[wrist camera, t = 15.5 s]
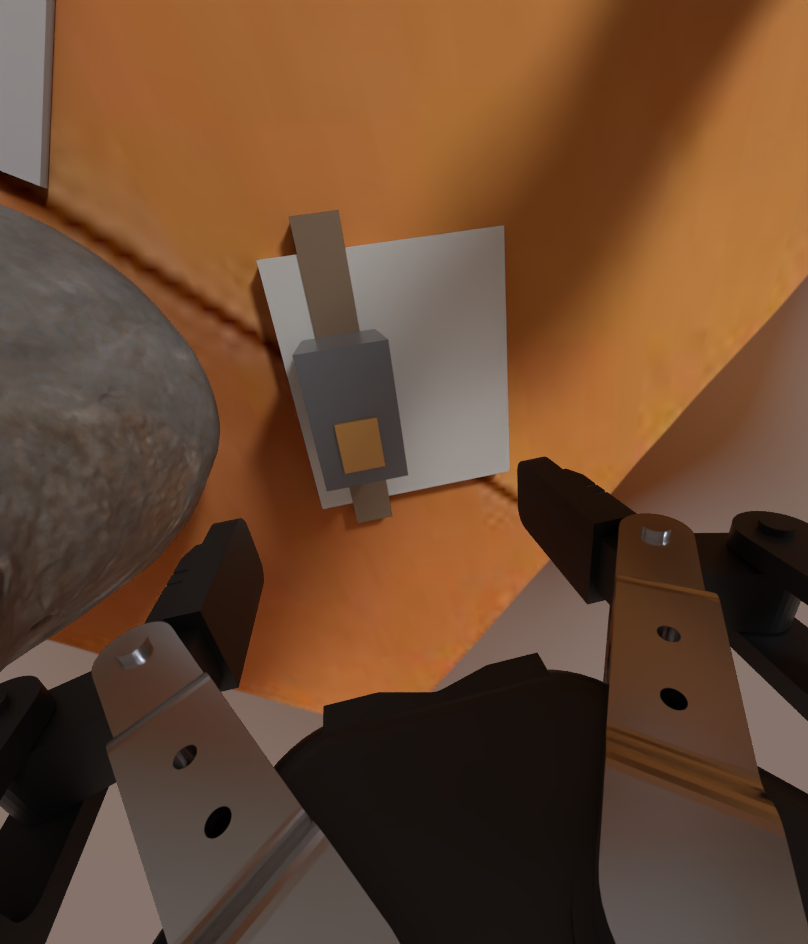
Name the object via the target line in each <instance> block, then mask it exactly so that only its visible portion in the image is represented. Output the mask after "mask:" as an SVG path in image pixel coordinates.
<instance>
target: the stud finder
mask: <svg viewBox="0 0 808 944" xmlns="http://www.w3.org/2000/svg"><path fill="white" fill-rule="evenodd" d="M292 356H293V360H294V364H295V368H296V372H297V376H298V380H299V384H300V388H301V392H302V396H303V400H304V404H305V407H306V411H307V415H308V419H309V423H310V427H311V431H312V435H313V439H314V443H315V447H316V451H317V455H318V459H319V463H320V467H321V470H322V474H323V478H324V482H325V486H326V490H327V492H328V491H333V490H338V489H343V488H348V487H353V486H358V485H363V484H368V483H373V482H378V481H383V480H388V479H393V478H398V477H403V476H408V470H407V463H406V456H405V449H404V443H403V436H402V429H401V422H400V416H399V409H398V402H397V395H396V388H395V382H394V375H393V368H392V361H391V355H390V348H389V341H388V339H387V338H386V337H385V336H383V335H382V334H381V333H379V332H378V331H377V330H376V329H371V330H364V331H358V332H352V333H346V334H340V335H334V336H327V337H321V338H315V339H309V340H303V341H301V342H300V344H299V345H298V347H297V349H296V350H295V352H294V353H293V355H292Z"/></svg>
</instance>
